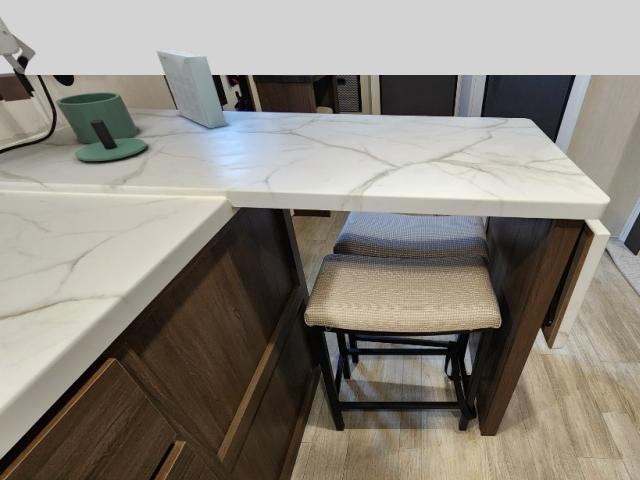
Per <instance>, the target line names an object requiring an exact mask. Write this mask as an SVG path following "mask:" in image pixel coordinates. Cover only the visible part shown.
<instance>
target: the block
mask: <svg viewBox="0 0 640 480" xmlns="http://www.w3.org/2000/svg"><path fill="white" fill-rule="evenodd" d="M0 94H1V96H2V97H3V99H4V100H3V101H4V102H8V103H9V102H15V101H16V102H17V101H26V100H31V99H32V97H30V96H29V94H28V92H27V91H26V89H25V88H24V86H23V85H22V83H21V82H20V80H19V78H18V77H17V76H16V75H15V74H14V72H7V73H0Z"/></svg>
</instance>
